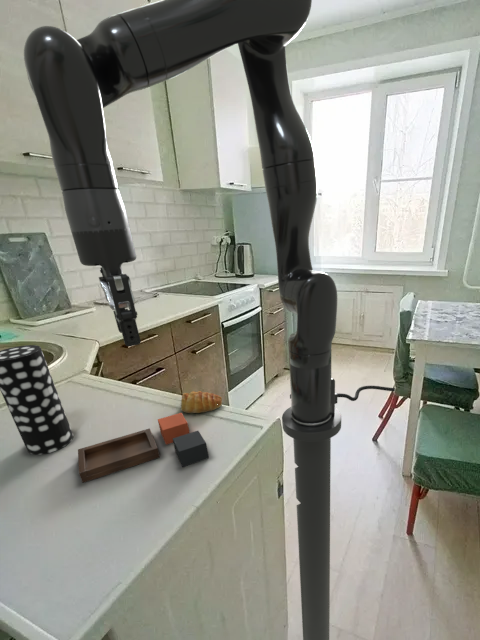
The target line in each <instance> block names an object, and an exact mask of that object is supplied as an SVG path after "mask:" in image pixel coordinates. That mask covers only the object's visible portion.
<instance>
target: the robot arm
mask: <svg viewBox="0 0 480 640" xmlns="http://www.w3.org/2000/svg"><path fill="white" fill-rule="evenodd" d="M312 1H313V0H159V1H155V2H152V3H148V4H145V5H143V6H137V7H135V8H131V9H128V10H126V11H123V12H119V13H117V14H112V15H110V16H108V17H106V18H104V19H102V20H101V21H99V22H98V24H97V25H96V26H95V28H94V29H93V31H91V33H89V34H88V35H85V36H83V37H81V38H77V39H76V38H75V37H73V36H72V35H71V34H70V33H69V32H67V31H65V30H64V29H61V28H59V27H56V26H52V25H42V26H39V27H36V28H35V29H32V30H31V32H30V33H29V34H28V36H27V37H26V40H25V41H24V42H25V43H24V47H23V61H24V67H25V70H26V76H27V79H28V84H29V86H30V89H31V90H32V93H33V95H34V96H35V100H36V102H37V105H38V108H39V111H40V115H41V117H42V121H43V124H44V126H45V129H46V133H47V136H48V140H49V148H50V155H51V158H52V162H53V166H54V170H55V174H56V177H57V181H58V184H59V187H60V188H59V189H60V190H61V194H62V198H63V199H62V200H63V206H64V211H65V215H66V219H67V221H68V225H69V229H70V232H71V235H72V239H73V242H74V246H75V249H76V252H77V255H78V259H79V262H80V264H81V265H83V266H86V267H96V266H100V269H99V272H100V274H101V276H98V280H99V284H100V287H101V289H102V291H103V293H104V297H105V300H106V302H107V303H108V306H109V308H110V309H111V310H112V311H113V316H114V319H115V323H116V326H117V331H118V332H119V333H120V334H121V335H122V339H123V343H124V345H125V346H126V347H133V346H134V347H135V346H138V345H140V344H141V343H142V341H141V337H140V332H139V330H138V325H137V324H138V323H137V318H138V311H136V307H135V304H136V303H135V301H136V300H135V297H134V294H133V290H132V281H131V278H130V275H128V273H124V272H123V268H122V265H123V264H125V263H132V262H134V261H136V259H137V253H136V249H135V248H136V247H135V245H134V240H133V236H132V232H131V226H130V222H129V218H128V217H129V216H128V213H127V209H126V206H125V203H124V200H123V198H122V195H121V191H120V188H119V183H118V179H117V175H116V169H115V166H114V162H113V158H112V155H111V151H110V148H109V143H108V138H107V129H106V121H105V114H104V108H106V107H108V106H109V105H111V104H113V103H115V102H117V101H118V100H120V99H122V98H123V97H125V96H127V95H129V94H131V93H134V92H138V91H142V90H145V89H148V88H151V87H153V86H156V85H159V84H162V83H164V82H166V81H169V80H171V79H174V78H176V77H178V76H179V75H182V74H184V73H185V72H187V71H189V70H191V69H193V68H195V67H196V66H198V65H200V64H201V63H203V62H205V61H206V60H208V59H210V58H211V57H213V56H215V55H216V54H219V53H220V52H223V51H224V50H226V49H228V48H231V47H233V46H235V45H237V47H238V52H239V55H240V58H241V62H242V66H243V72H244V75H245V78H246V79H245V80H246V82H247V87H248V91H249V95H250V102H251V106H252V112H253V119H254V125H255V132H256V136H257V137H256V138H257V144H258V149H259V154H260V163H261V169H262V175H263V182H264V189H265V193H266V198H267V204H268V210H269V214H270V221H271V228H272V234H273V239H274V246H275V254H276V268H277V269H276V270H277V282H278V283H277V284H278V293H279V298H280V301H281V303H282V305H283V306H284V308H285V309H286V310H287V311H289V312H290V313H292V314H293V315H297V316H296V331H294V332H292V333H290V334H289V336H288V341H287V342H288V345H287V346H288V363H289V383H290V385H289V386H290V394H289V399H290V405H291V406H290V407H292V410H291V411H292V413H291V416H292V420H293V421H294V422H295V423H296V424H298V425H301V426H305V427H317V426H322V425H324V424H326V423H328V422H329V421H330V420H331V418H332V417H334V416H335V408H336V406H335V405H337V404H338V398H344V399H348V400H349V401H351V402H355V401H357V400H358V398H359V395H360V393H361V392H362V391H364V390H379V391H385V392H395V391H396V388H395V387H388V386H379V385H363V386H361V387H358V388H357V390H356V391H355V394H354V396H351V395H350V394H347V393H341V392H339V393H337V392H336V380H335V379H334V378H333V377H332V345H333V344H332V343H333V340H334V337H335V335H336V331H337V314H338V291H337V290H338V289H337V285H336V283H335V280H334V278H332V277H331V275H330V274H328V273H325V272H323V271H318V270H314V269H313V264H312V258H311V252H310V232H311V227H312V223H313V219H314V215H315V211H316V206H317V200H318V191H319V187H318V186H319V185H318V175H317V166H316V160H315V159H316V155H315V150H314V145H313V142H312V140H311V136H310V134H309V132H308V130H307V127H306V125H305V123H304V121H303V119H302V117H301V115H300V113H299V111H298V109H297V107H296V105H295V102H294V100H293V96H292V92H291V86H290V82H289V74H288V65H287V52H286V51H287V49H286V48H287V47H286V46H287V45H288V44H289V43H290V42H291V41H293V40H294V39H295V38H296V37H297V36H298V35H299V34H300V33H301V31H302V29H303V28H304V27H305V25H306V24H307V21H308V19H309V16H310V13H311V9H312V3H313V2H312Z"/></svg>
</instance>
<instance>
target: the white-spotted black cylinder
mask: <svg viewBox="0 0 480 640" xmlns="http://www.w3.org/2000/svg"><path fill="white" fill-rule="evenodd" d="M43 352H44V351H43V350H42V347H41V346H40V345H37V344H28V345H27V344H26V345H18V346H13V347H8V348H5V349H0V393H1V396H2V397H3V400H4V402H5V404H6V406H7V409H8V411H9V413H10V415H11V417H12V419H13V422H14V424H15V426H16V429H17V431H18V433H19V435H20V437H21V439H22V442H23V444H24V447H25V449H26V451H27V453H28V454H31V455H37V456H38V455H39V456H40V455H46V454H50V453H53V452H55V451H56V452H57V451H58V450H61V449H62V448H64V447H66V446H67V445H69V444H70V443H71V442H72V440H73V439H74V433H73V431H72V428H71V425H70V422H69V420H68V417H67V415H66V412H65V408H64V406H63V404H62V401H61V398H60V395H59V393H58V390H57V388H56V385H55V382H54V378H53V377H52V374H51V371H50V369H49V366H48V363H47V359H46V358H45V355H44V353H43Z"/></svg>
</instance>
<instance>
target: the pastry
mask: <svg viewBox="0 0 480 640" xmlns="http://www.w3.org/2000/svg"><path fill="white" fill-rule="evenodd" d="M217 404H218V405H217ZM222 405H223V397H222V396H220V395H218V394H215V393H212V392H208V391H205V392H203V391H201V390H198V391H194V390H192V391H191V392H183V393H182V395H181V400H180V410H181V412H184V413H186V414H192V413H193V414H199V413H200V414H201V413H207V412H211V411H214V410H216V409H219V408H220V407H221V406H222Z"/></svg>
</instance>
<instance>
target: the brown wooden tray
mask: <svg viewBox="0 0 480 640" xmlns="http://www.w3.org/2000/svg"><path fill="white" fill-rule="evenodd" d="M157 445H158V444H157V443H156V440H155V437H154V435H153V433H152V431H151V428H150V427H149V428H145V429H142V430H139V431H135V432H132V433H128V434H125V435H122V436H119V437H115V438H112V439H109V440H105V441H102V442H98V443H95V444H91V445H88V446H84V447H81V448H78V449H77V459H78V460H77V461H78V474H79V478H80V480H81V482H82V484H83V483H87V482H90V481H94V480H96V479H99V478H102V477H105V476H108V475H111V474H114V473H117V472H120V471H124V470H126V469H129V468H132V467H136V466H138V465H141V464H145V463H147V462H151V461H153V460H156V459H160V458H161V456H160V452H159V448H158V446H157Z"/></svg>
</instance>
